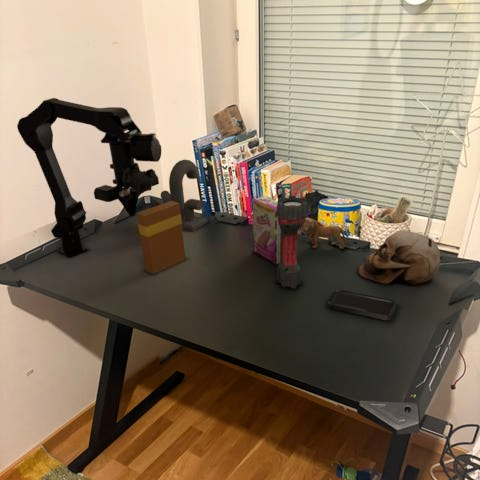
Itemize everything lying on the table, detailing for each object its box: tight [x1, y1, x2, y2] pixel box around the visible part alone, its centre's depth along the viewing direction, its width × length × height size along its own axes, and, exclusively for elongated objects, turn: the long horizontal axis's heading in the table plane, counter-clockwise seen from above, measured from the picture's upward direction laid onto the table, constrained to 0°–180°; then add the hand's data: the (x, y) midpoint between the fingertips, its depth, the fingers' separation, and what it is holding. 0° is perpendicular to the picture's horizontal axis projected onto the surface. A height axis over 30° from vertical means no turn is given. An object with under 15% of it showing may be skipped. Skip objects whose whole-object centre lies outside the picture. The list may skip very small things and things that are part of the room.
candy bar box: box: [251, 195, 281, 265], centre depth 137 cm, size 11×5×16 cm, turn 35°
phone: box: [327, 289, 397, 321], centre depth 116 cm, size 8×1×15 cm
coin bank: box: [358, 229, 441, 286], centre depth 125 cm, size 16×17×13 cm
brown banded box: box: [136, 201, 186, 275], centre depth 135 cm, size 4×12×17 cm, turn 137°
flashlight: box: [276, 194, 309, 290], centre depth 121 cm, size 8×8×23 cm
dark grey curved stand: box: [160, 159, 208, 232], centre depth 164 cm, size 18×16×20 cm
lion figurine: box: [300, 217, 350, 250], centre depth 144 cm, size 15×5×9 cm, turn 87°
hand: (132, 216), depth 137 cm, fingers closed
